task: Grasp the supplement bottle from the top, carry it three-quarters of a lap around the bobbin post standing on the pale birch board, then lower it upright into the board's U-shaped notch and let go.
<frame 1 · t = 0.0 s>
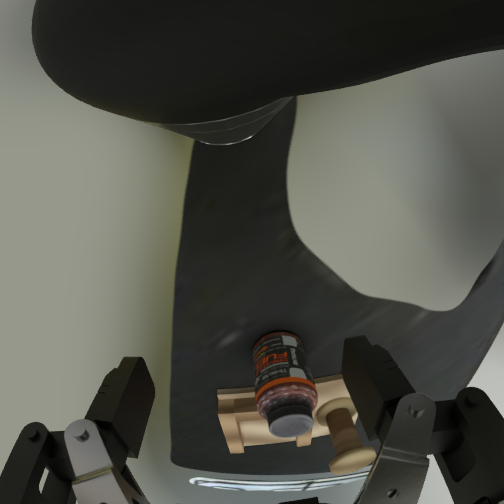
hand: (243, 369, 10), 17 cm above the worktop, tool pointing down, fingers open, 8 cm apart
supplement bottle: (277, 348, 31), on the worktop
notched board: (294, 412, 35), on the worktop
bobbin post: (334, 405, 36), resting on notched board
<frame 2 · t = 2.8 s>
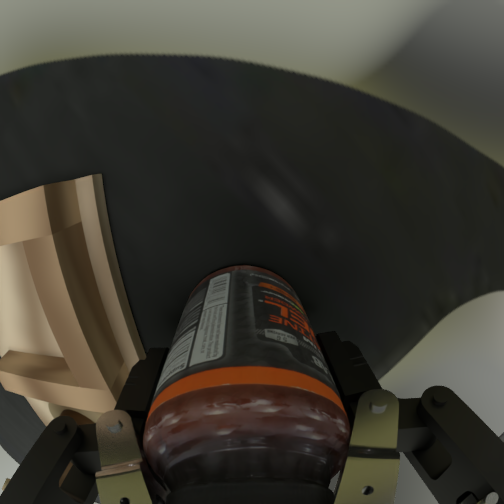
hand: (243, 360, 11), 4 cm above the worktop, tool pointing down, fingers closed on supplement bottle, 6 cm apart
supplement bottle: (243, 313, 14), on the worktop, touching gripper
notched board: (56, 347, 15), on the worktop
bobbin post: (90, 407, 16), resting on notched board
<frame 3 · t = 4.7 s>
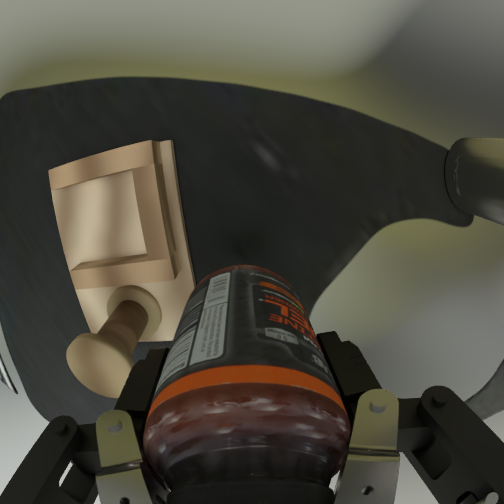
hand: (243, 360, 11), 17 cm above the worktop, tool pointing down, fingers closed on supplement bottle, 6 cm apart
supplement bottle: (243, 312, 14), point 13 cm above the worktop, touching gripper
notched board: (123, 253, 26), on the worktop
bobbin post: (137, 306, 28), resting on notched board
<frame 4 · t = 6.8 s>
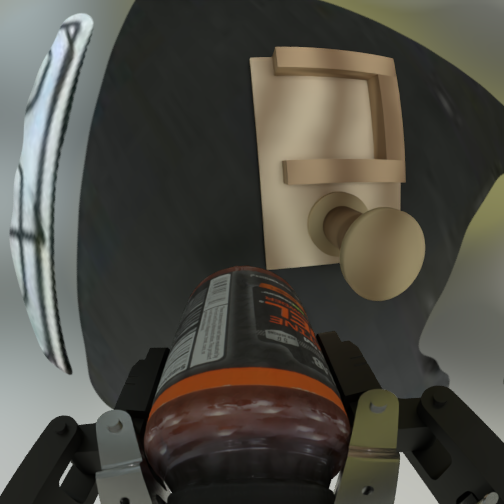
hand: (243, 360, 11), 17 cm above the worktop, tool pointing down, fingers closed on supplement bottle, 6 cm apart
supplement bottle: (243, 313, 14), point 13 cm above the worktop, touching gripper
notched board: (332, 159, 25), on the worktop
bobbin post: (334, 220, 26), resting on notched board
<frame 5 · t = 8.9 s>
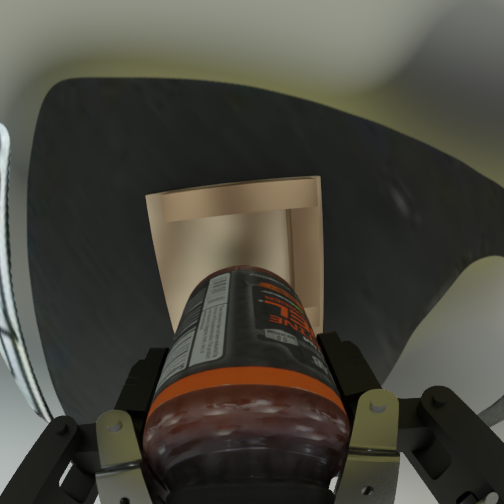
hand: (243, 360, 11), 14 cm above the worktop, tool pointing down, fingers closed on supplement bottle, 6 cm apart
supplement bottle: (243, 313, 14), point 10 cm above the worktop, touching gripper
notched board: (244, 295, 25), on the worktop
when the fingers open (5 cm above the worktop, at t = 10.8 s): supplement bottle stays where it is, resting on notched board.
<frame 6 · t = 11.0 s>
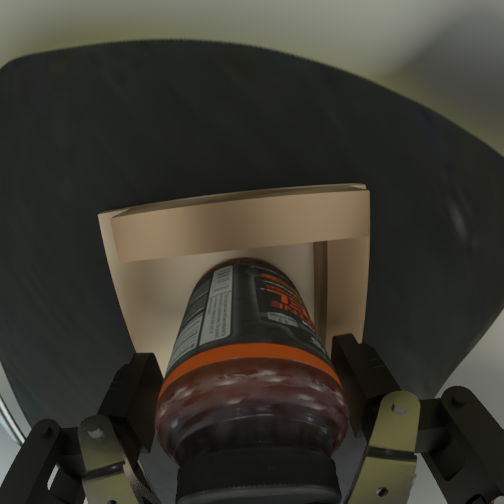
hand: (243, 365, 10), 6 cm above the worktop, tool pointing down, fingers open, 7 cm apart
supplement bottle: (244, 305, 15), point 1 cm above the worktop, touching notched board
notched board: (248, 353, 17), on the worktop
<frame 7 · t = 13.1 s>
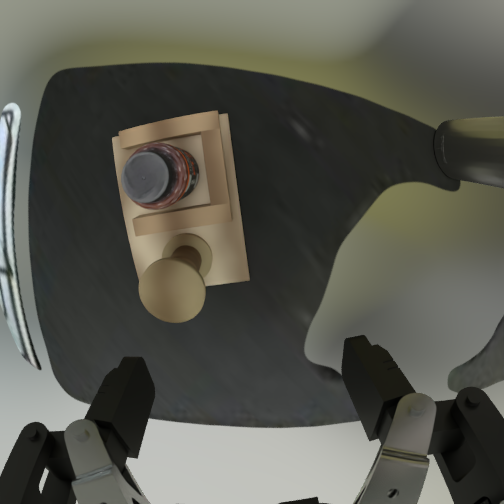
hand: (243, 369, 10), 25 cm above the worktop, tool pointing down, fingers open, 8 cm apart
supplement bottle: (174, 173, 30), point 1 cm above the worktop, touching notched board
notched board: (180, 207, 32), on the worktop
bobbin post: (188, 254, 34), resting on notched board
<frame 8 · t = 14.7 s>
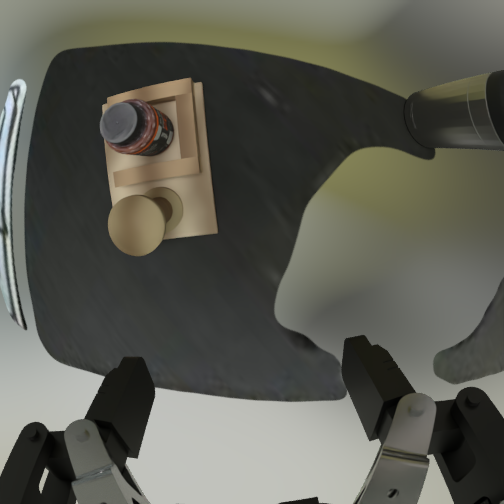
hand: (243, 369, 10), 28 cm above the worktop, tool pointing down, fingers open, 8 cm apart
supplement bottle: (153, 134, 32), point 1 cm above the worktop, touching notched board
notched board: (157, 164, 34), on the worktop
bobbin post: (163, 208, 36), resting on notched board
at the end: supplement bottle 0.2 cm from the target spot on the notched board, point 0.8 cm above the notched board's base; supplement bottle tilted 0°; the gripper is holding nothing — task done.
